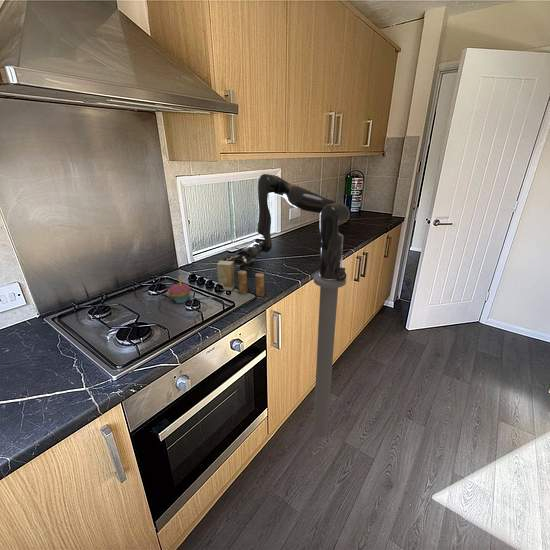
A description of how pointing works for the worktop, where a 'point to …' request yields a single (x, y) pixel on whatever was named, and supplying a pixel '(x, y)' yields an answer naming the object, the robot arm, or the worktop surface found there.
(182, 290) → the cupcake
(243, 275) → the oak pegs
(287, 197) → the robot arm
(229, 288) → the cosmetic box
